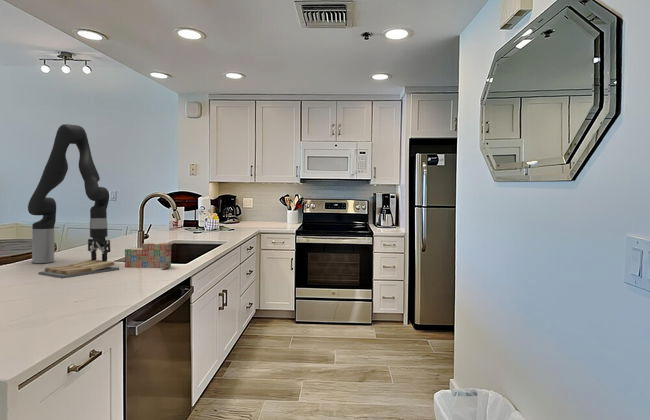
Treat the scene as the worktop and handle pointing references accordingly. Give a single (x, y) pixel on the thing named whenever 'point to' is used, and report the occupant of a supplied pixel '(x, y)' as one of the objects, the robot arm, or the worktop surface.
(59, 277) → the underlay mat
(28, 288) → the worktop surface
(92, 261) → the board
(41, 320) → the worktop surface
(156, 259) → the stack of blocks
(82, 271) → the laid plank
